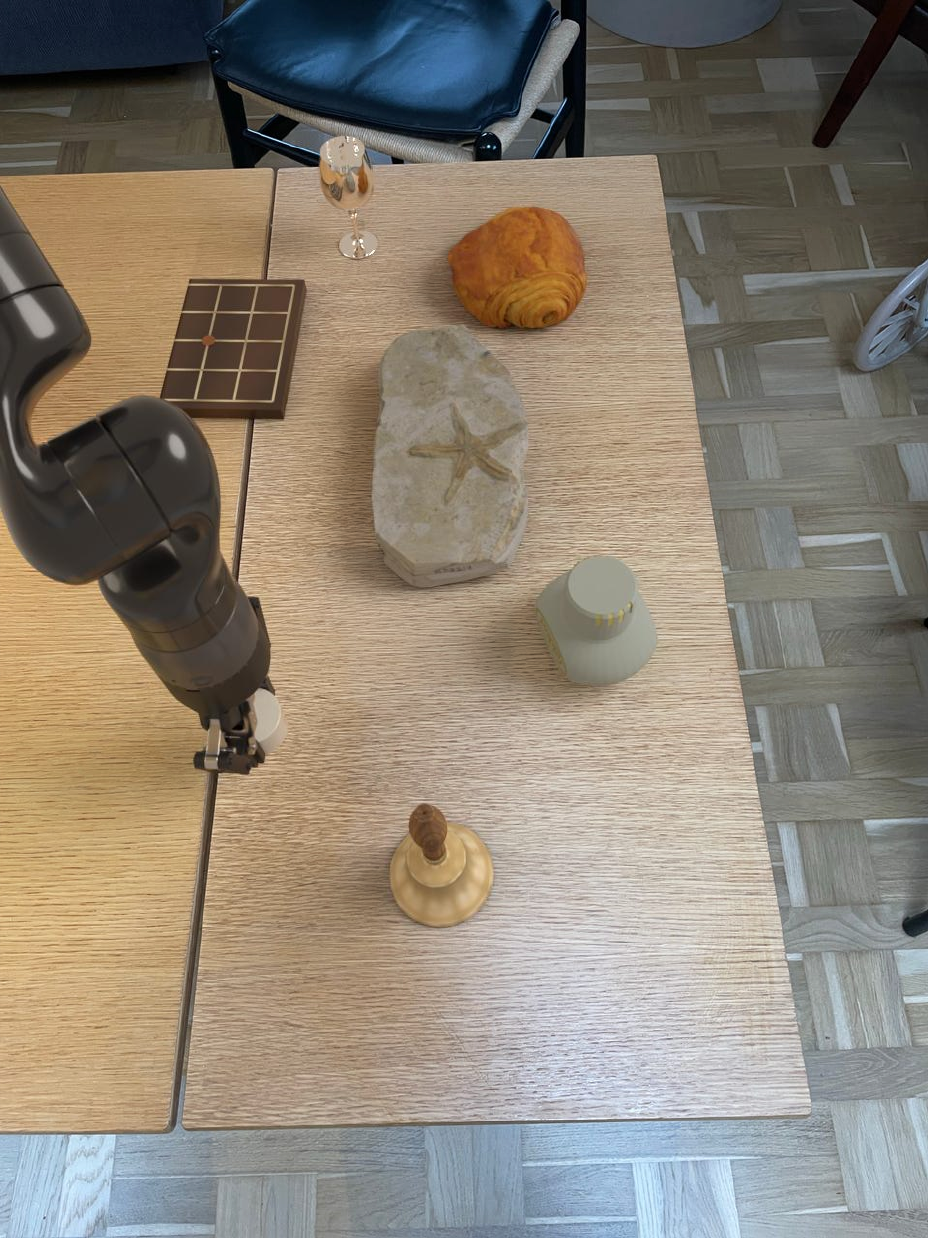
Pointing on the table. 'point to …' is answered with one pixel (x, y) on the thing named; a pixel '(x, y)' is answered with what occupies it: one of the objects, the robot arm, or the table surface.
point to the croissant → (520, 269)
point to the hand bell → (440, 870)
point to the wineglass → (348, 188)
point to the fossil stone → (448, 459)
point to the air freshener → (596, 622)
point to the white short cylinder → (269, 721)
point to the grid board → (235, 348)
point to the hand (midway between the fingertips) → (257, 727)
